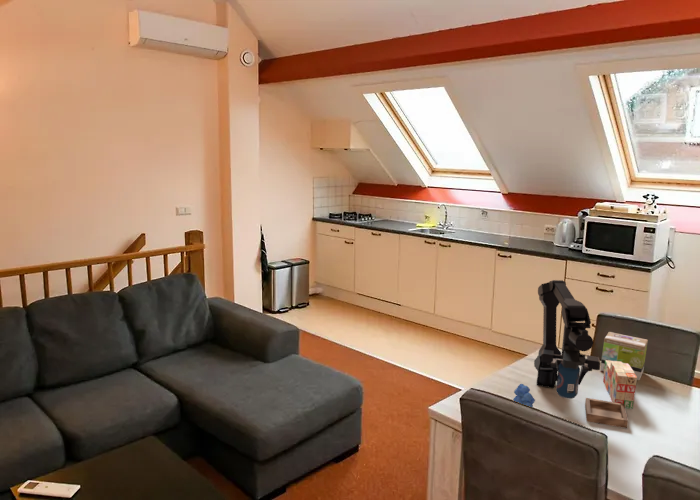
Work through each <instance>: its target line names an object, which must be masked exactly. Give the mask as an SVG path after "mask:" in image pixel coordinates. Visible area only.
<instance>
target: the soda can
mask: <svg viewBox="0 0 700 500" xmlns="http://www.w3.org/2000/svg"><path fill="white" fill-rule="evenodd" d="M580 371H581V367H580V366H578V369H573V368H565V367H563V361H561V363H560V364H559V367H558V371H557V373H558V378H557V381H556V389H555V390H556V393H557V395H558V396H559V397H561V398H563V399H569V400H571V399H574V398H576V397H577V395H578V393H579V385H578V384H579V376H580Z"/></svg>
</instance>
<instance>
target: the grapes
mask: <svg viewBox="0 0 700 500" xmlns="http://www.w3.org/2000/svg"><path fill="white" fill-rule="evenodd" d="M530 391H531V389H530V387H528V385H525V384H523V383H519V384H518V385H517V387H516V389H515V390H514V391H513V393H514V394H515V396H514V398H513V400H514V401H516V402H519V403H521V404H524V405H527V406H530V407H532V408H533V407H534V405H533V404H534V403H535V402H536V399H535V397H534V396H533V395H532V394H531V393H530ZM514 401H513V402H514Z"/></svg>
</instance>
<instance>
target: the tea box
mask: <svg viewBox="0 0 700 500" xmlns="http://www.w3.org/2000/svg"><path fill="white" fill-rule="evenodd" d="M603 339H604V340H603V347H602V352H601V353H602V354H601V360H600V370H599V371H600V372H604V365H605V360H609V361H620V362H622V363H628V364H629V365H630V367H631V368H632V370H633V371H634V373H635V375H636V377H637V381H641V378H642V375H643V373H644V368H645V362H646V356H647V351H648V350H647V349H648V342H649V340H648V339H645V338H641V337H637V336H636V337H635V336H631V335H626V334H621V333H616V332H613V331H608V333H607V334H606V336H605V337H604V338H603Z"/></svg>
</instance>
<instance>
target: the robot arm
mask: <svg viewBox="0 0 700 500" xmlns="http://www.w3.org/2000/svg"><path fill="white" fill-rule="evenodd" d="M537 294H538V299H539V301H540V303H541V304H542V307H543V322H542V323H543V324H542V325H543V326H542V327H543V328H542V329H543V331H542V333H543V334H542V336H543V337H542V345H541V347H540V348H539V350H538V355H537V357H535V359H534V361H533V362H534V363H533V367H534V368H535V369H536V370H537V377H536V386H538V387H544V388H551V389H554V388H555V386H557V378H558V367H559V364H560V363H561V361H563V367H565V368H573V369H578V366H579V367H580V375H579V384H578V386H580V385H581V383H582V381H583V379H584V377H585V376H586V374H587V373H588V372H592V371H593V370H594V371H601V370H600V369H601V360H600V357H599V356H596V355H595V356H593V355H587V356H586V354H582V353H581V352H588V351H589V350H591V349H592V348H593V346H594V340H593V337H592V336H590V335H589V331H588V330H587V329H591V324H592V321H591V316H590V314H589V311H588V308H587V307H586V306H585V304H584V303H582V302H581V301H579V300H577V299H576V298H575V297H574V296H573V294H572V293H571V291H570V290H569V288H568V286H567V282H566V281H565V280H563V279H562V280H561V279H560V280H559V279H555V280H554V279H553V280H550V281H549V282H545V283H541V284H540V285H539V286H538V287H537ZM559 304H560V306H561V312H560V313H561V317H562V320H563V325H564V327H563V333H562V335H563V336H562V347H561V350H559V348H558V347H557V311H558V309H557V307H558V306H559Z"/></svg>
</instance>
